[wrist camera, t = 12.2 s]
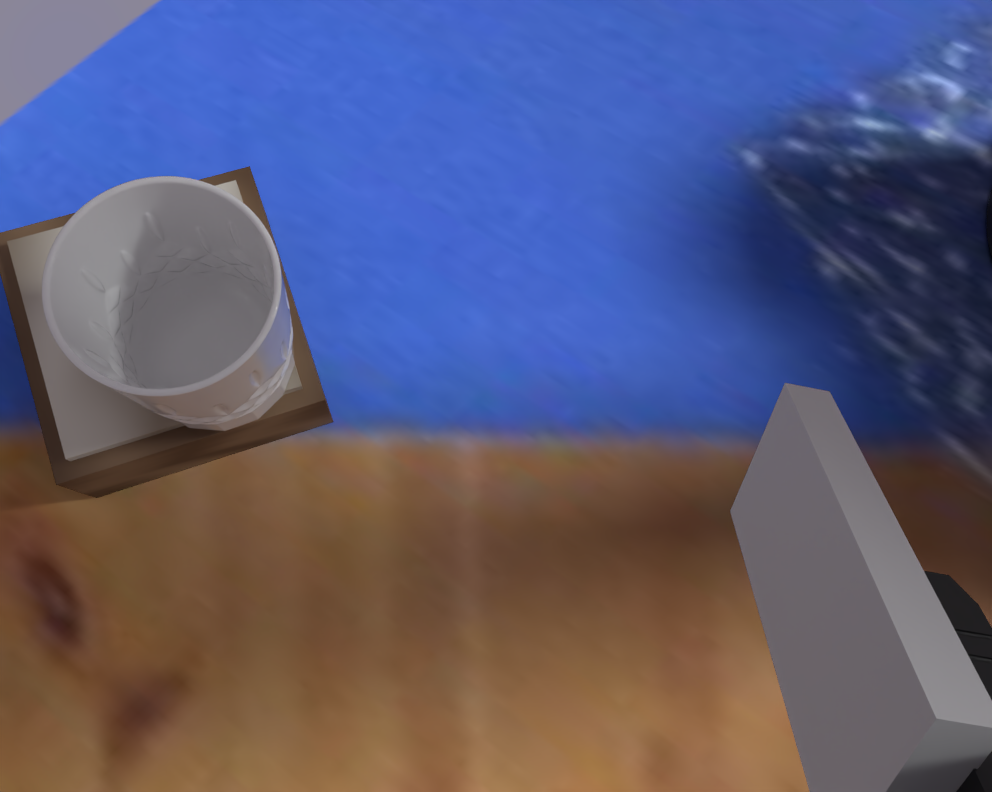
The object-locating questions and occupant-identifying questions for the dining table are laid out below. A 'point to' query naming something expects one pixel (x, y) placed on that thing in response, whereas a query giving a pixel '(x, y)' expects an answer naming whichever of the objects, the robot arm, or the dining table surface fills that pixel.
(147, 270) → the white cup
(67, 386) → the base
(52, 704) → the dining table surface
